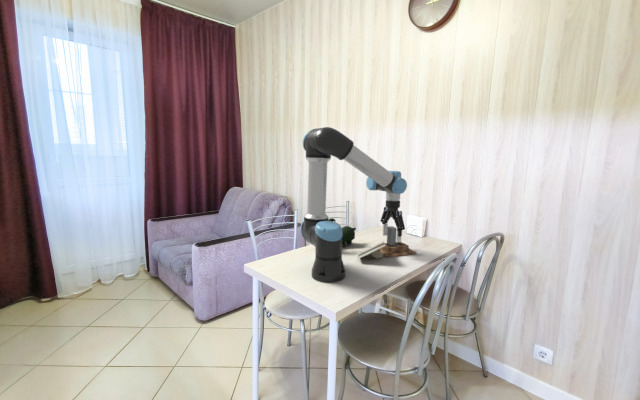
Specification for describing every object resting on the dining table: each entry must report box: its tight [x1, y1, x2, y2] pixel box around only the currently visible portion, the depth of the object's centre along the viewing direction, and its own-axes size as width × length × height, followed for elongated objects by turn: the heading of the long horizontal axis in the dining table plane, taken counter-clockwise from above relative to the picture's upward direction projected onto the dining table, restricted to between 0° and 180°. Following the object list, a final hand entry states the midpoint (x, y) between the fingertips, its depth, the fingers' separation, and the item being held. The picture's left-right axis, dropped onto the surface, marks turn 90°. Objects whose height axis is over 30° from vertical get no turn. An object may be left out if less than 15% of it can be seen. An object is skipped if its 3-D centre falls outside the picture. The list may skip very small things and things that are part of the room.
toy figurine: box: [328, 217, 357, 247], centre depth 173 cm, size 9×19×25 cm
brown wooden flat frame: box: [380, 241, 417, 259], centre depth 164 cm, size 18×14×4 cm
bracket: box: [386, 225, 401, 247], centre depth 163 cm, size 8×4×13 cm, turn 109°
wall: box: [357, 240, 386, 260], centre depth 153 cm, size 16×9×15 cm
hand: (391, 238), depth 162 cm, fingers open, 13 cm apart
